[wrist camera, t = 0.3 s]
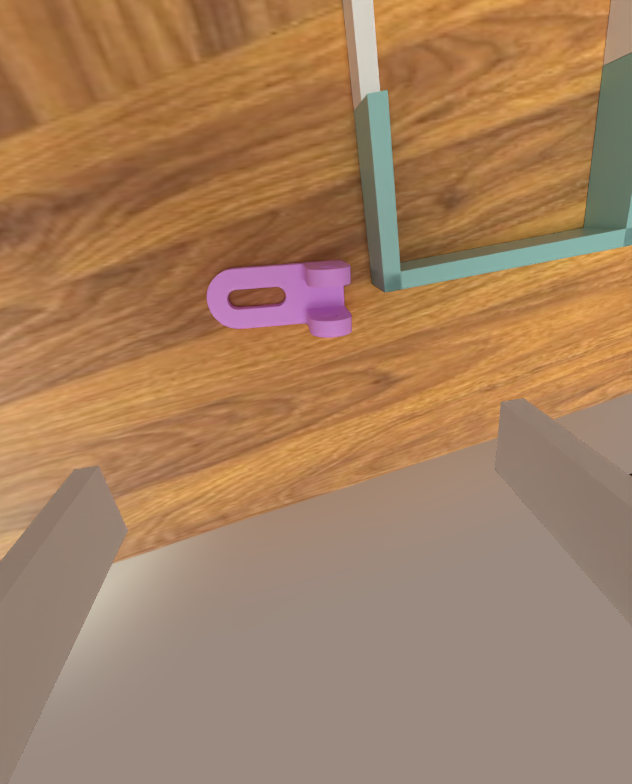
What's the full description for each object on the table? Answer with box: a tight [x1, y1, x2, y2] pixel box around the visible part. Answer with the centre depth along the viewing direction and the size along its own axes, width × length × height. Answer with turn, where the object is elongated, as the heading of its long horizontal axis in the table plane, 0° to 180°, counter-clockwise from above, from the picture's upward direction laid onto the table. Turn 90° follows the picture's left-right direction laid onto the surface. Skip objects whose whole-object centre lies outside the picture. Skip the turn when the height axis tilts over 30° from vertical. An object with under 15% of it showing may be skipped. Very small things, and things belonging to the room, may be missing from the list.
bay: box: [354, 53, 632, 292], centre depth 33 cm, size 14×23×5 cm, turn 100°
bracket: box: [207, 260, 352, 337], centre depth 34 cm, size 13×6×7 cm, turn 93°
